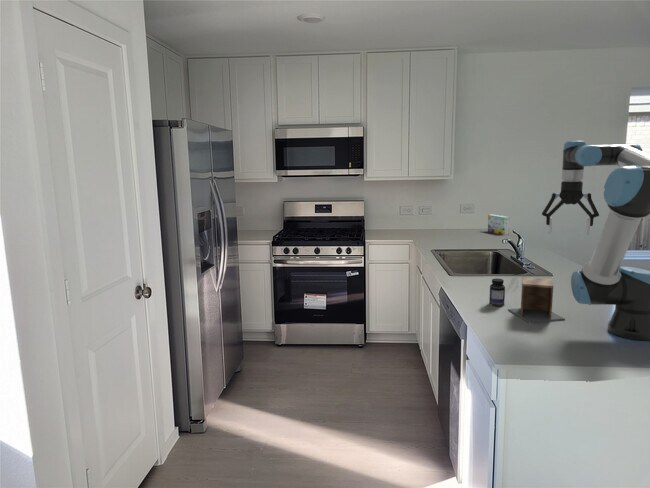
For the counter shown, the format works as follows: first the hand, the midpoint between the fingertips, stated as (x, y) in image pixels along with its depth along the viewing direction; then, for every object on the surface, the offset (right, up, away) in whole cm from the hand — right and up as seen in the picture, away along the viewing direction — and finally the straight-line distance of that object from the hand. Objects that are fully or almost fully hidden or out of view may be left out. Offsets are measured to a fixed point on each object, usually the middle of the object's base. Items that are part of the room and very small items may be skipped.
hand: (568, 233), depth 184 cm
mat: (-14, -33, -2) cm, 36 cm away
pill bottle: (-24, -31, +13) cm, 41 cm away
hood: (-14, -32, -2) cm, 35 cm away
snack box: (+47, +5, +198) cm, 204 cm away
